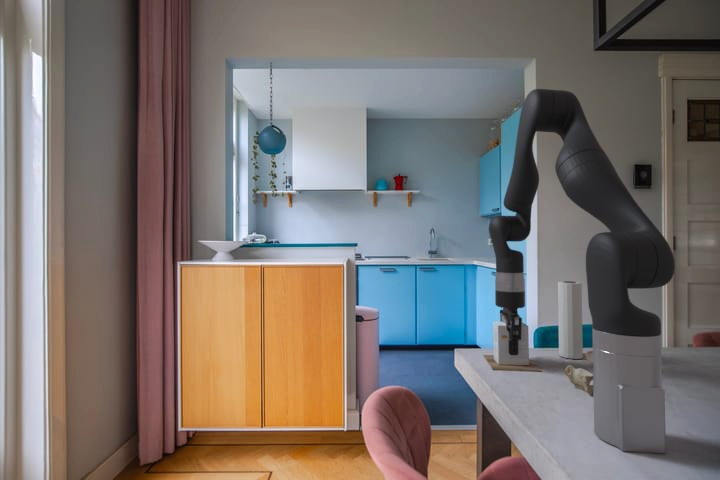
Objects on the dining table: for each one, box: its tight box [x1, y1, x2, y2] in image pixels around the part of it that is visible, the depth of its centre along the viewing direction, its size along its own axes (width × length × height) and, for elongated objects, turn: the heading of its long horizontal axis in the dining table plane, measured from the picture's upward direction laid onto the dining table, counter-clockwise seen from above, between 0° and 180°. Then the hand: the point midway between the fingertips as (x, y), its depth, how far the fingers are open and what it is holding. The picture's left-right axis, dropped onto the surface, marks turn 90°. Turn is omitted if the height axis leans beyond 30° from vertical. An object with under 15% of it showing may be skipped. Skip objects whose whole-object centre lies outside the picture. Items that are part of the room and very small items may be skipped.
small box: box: [492, 321, 530, 365], centre depth 106 cm, size 8×6×10 cm
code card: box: [482, 354, 543, 373], centre depth 106 cm, size 14×12×1 cm
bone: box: [564, 349, 593, 396], centre depth 85 cm, size 9×6×10 cm
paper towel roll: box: [557, 280, 584, 360], centre depth 112 cm, size 7×6×21 cm
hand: (510, 351), depth 106 cm, fingers closed on small box, 5 cm apart
